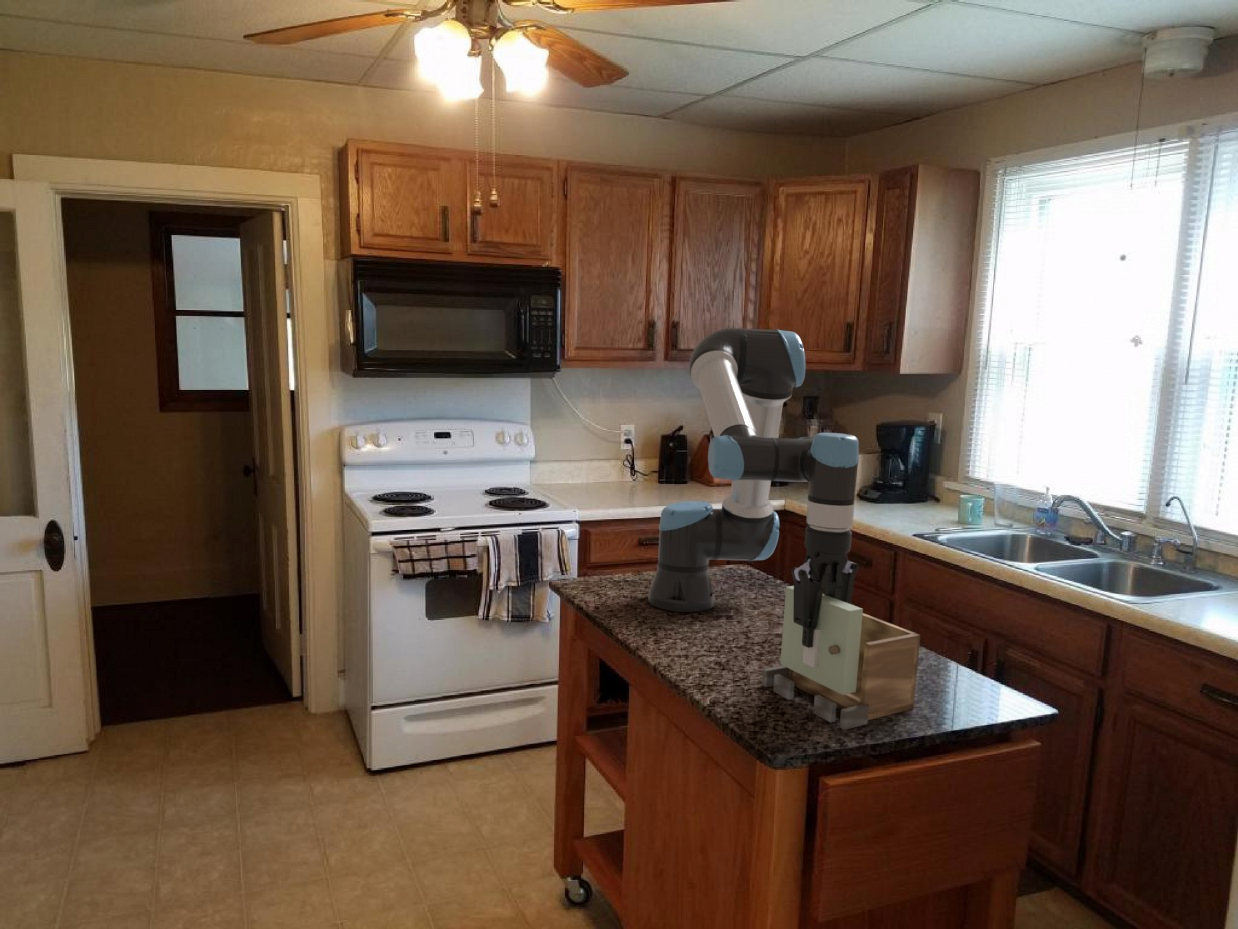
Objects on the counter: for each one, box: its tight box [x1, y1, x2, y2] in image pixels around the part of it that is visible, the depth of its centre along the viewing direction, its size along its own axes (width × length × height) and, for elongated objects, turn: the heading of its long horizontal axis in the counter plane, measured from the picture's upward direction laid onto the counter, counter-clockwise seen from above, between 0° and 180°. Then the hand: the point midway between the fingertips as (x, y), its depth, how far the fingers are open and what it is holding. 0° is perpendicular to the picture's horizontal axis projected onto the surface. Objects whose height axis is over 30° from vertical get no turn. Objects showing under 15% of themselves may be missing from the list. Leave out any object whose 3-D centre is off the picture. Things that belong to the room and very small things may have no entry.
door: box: [779, 585, 864, 695], centre depth 149 cm, size 15×4×14 cm, turn 31°
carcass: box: [761, 612, 921, 731], centre depth 153 cm, size 20×17×13 cm
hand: (817, 662), depth 150 cm, fingers closed on door, 3 cm apart
